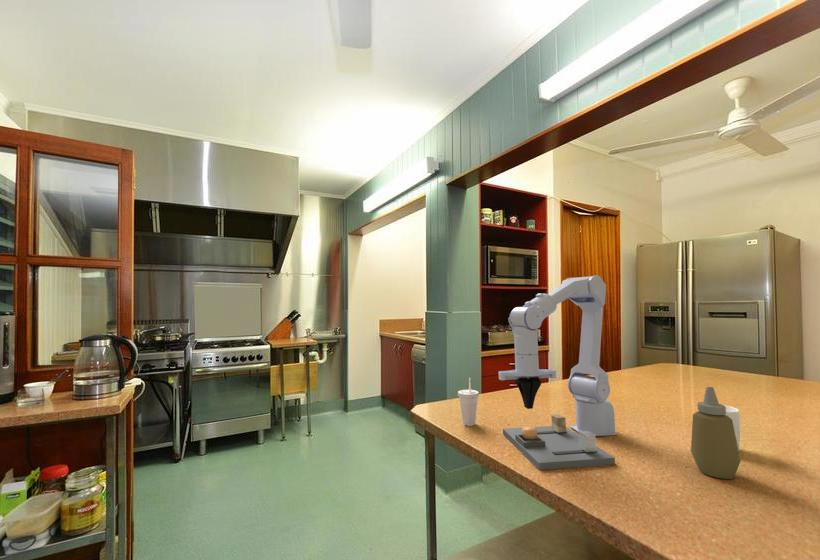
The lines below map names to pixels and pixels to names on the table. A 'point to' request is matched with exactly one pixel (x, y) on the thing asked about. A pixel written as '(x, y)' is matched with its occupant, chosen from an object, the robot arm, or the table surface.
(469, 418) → the smoothie
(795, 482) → the table surface
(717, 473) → the squeeze bottle
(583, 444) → the metal slider
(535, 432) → the orange button
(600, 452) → the control board
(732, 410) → the white cup
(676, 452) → the table surface
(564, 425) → the birch slider
